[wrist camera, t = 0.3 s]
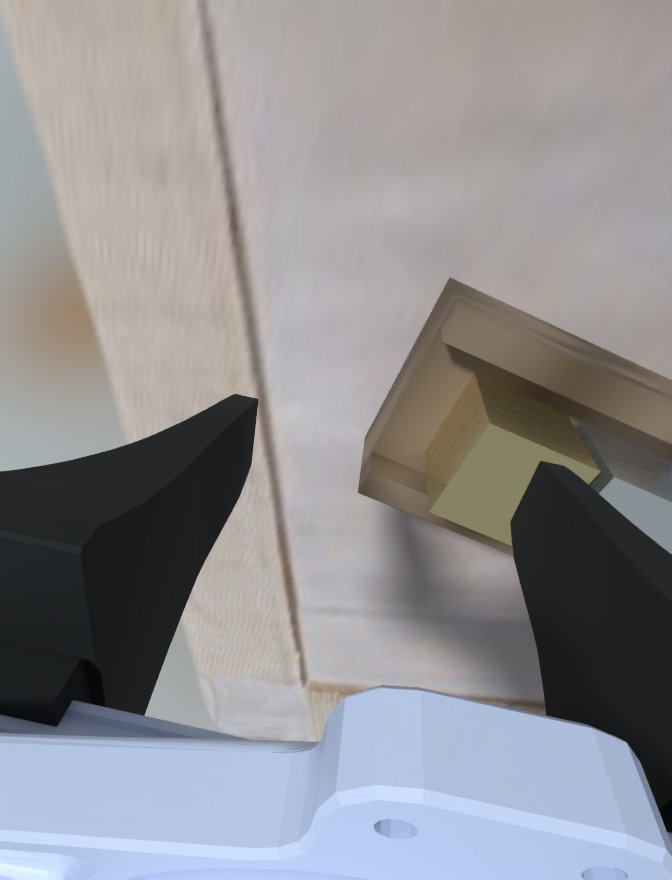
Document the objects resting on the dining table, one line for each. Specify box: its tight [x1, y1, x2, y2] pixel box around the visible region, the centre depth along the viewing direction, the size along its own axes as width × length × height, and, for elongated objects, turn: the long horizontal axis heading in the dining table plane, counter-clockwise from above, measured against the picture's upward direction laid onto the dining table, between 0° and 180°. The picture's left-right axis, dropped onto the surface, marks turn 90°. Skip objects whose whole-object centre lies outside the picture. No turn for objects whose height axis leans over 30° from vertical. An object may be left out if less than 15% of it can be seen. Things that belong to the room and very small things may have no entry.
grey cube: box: [572, 418, 672, 554], centre depth 19 cm, size 4×4×4 cm
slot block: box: [358, 278, 672, 555], centre depth 21 cm, size 11×8×4 cm
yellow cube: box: [425, 372, 601, 546], centre depth 18 cm, size 4×4×4 cm
